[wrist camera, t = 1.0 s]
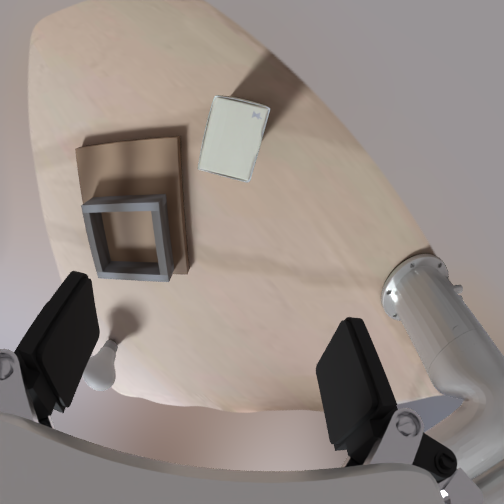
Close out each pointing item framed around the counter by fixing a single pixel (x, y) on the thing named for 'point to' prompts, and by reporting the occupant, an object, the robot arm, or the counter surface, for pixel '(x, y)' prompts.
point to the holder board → (134, 208)
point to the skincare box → (233, 137)
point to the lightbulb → (101, 368)
